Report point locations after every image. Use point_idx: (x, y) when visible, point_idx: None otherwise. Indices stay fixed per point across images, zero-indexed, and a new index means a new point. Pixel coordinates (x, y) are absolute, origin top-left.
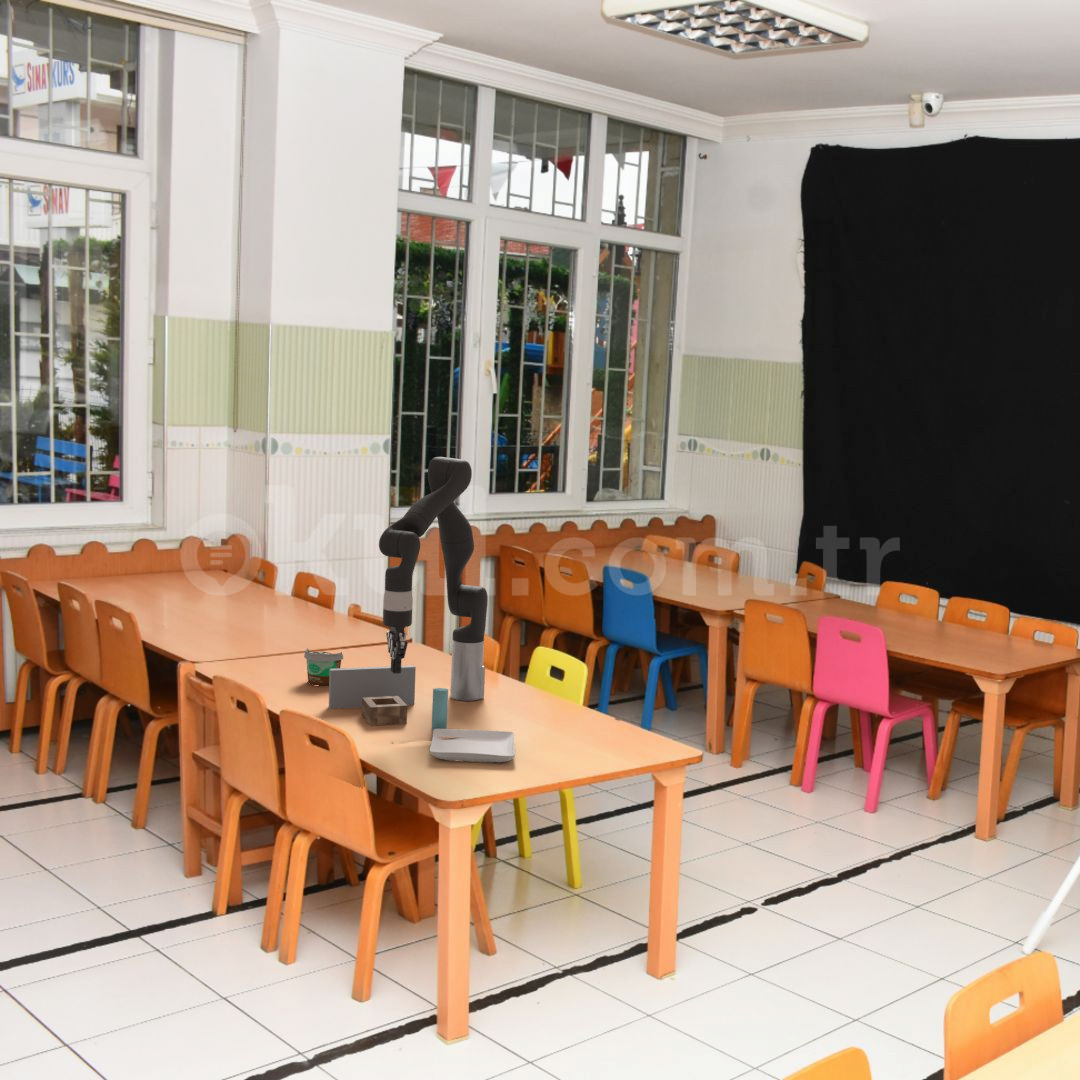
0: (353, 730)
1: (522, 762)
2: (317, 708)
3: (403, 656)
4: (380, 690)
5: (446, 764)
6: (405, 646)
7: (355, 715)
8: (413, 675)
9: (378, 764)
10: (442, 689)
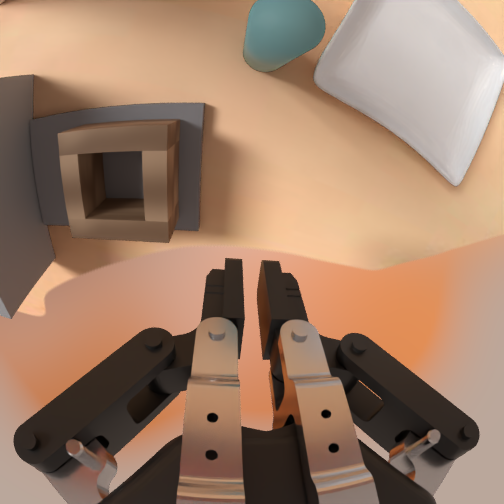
0: (176, 247)
1: None
2: None
3: (376, 352)
4: (6, 171)
5: None
6: (455, 418)
7: None
8: None
9: (403, 261)
10: (284, 11)
